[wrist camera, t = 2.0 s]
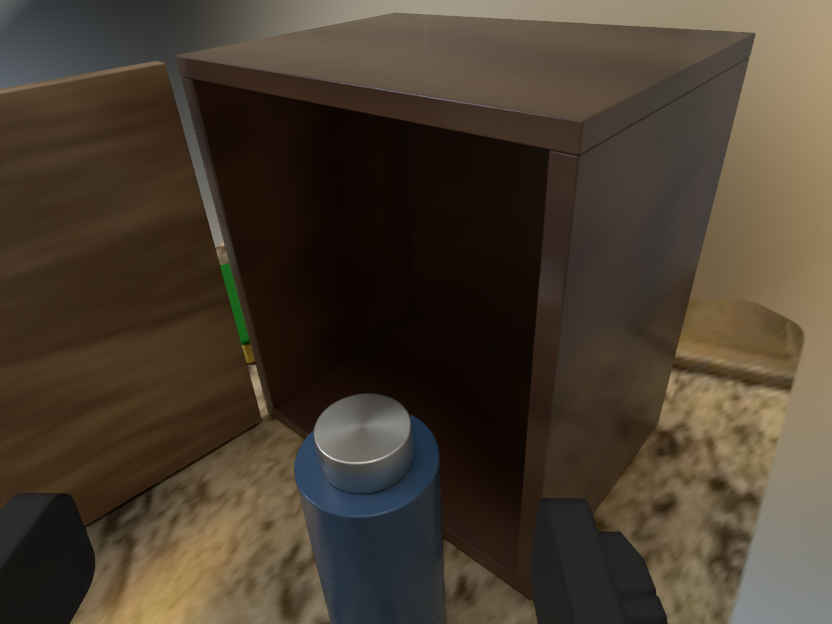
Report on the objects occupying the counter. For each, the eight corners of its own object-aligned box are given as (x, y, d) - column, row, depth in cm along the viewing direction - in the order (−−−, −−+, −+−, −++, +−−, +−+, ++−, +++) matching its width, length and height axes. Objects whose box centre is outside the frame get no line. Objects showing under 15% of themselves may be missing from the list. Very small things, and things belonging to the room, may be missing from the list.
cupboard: (531, 600, 29) (583, 121, 16) (267, 412, 42) (174, 55, 29) (658, 423, 39) (756, 32, 26) (413, 313, 52) (394, 12, 38)
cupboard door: (-136, 562, 33) (-535, 154, 20) (216, 377, 45) (113, 49, 32) (-122, 649, 29) (-615, 205, 16) (262, 420, 41) (165, 62, 28)
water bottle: (468, 635, 28) (468, 416, 20) (396, 729, 25) (361, 515, 17) (390, 572, 31) (363, 359, 23) (316, 649, 28) (255, 434, 20)
